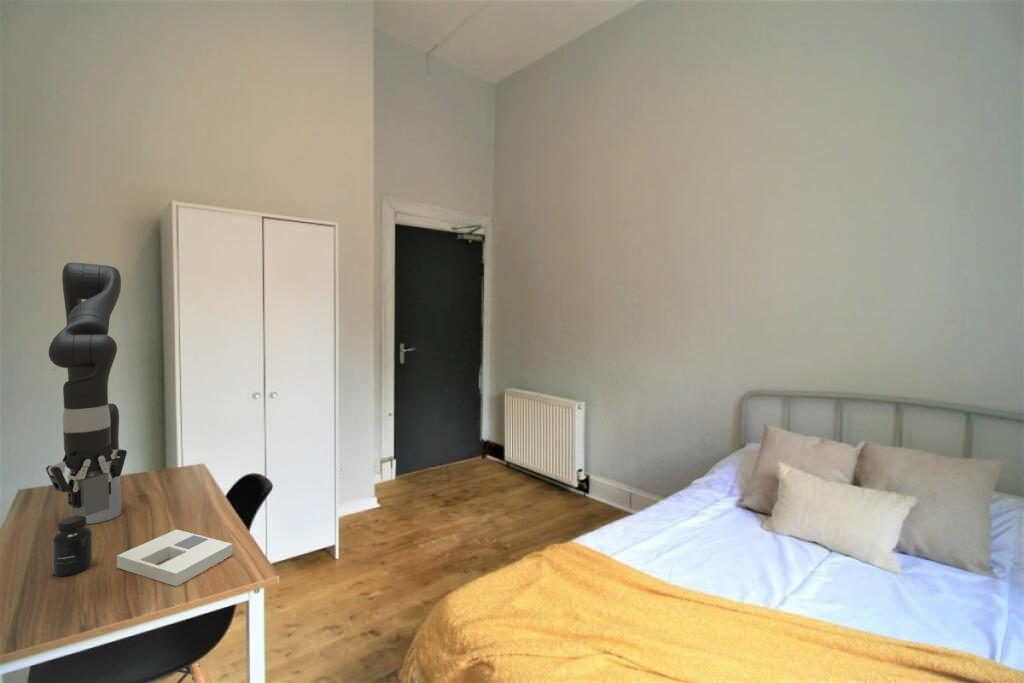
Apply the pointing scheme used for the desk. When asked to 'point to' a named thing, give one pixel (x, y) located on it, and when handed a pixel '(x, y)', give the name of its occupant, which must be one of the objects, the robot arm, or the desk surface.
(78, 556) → the supplement bottle
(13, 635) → the desk surface
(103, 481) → the charger
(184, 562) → the outlet plate
